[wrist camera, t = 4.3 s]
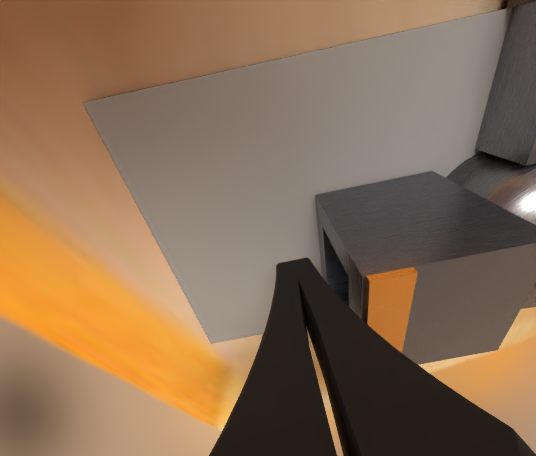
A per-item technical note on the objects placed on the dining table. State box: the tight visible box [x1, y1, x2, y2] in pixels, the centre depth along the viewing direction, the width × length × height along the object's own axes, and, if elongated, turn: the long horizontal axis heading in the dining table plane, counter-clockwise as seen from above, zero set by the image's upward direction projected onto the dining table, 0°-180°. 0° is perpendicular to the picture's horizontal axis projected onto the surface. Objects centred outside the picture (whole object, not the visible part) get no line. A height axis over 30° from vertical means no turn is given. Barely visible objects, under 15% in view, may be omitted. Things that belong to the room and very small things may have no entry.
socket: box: [315, 171, 536, 365], centre depth 10 cm, size 5×5×5 cm
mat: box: [83, 7, 512, 344], centre depth 12 cm, size 18×14×1 cm
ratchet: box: [446, 0, 536, 309], centre depth 8 cm, size 10×16×4 cm, turn 11°
